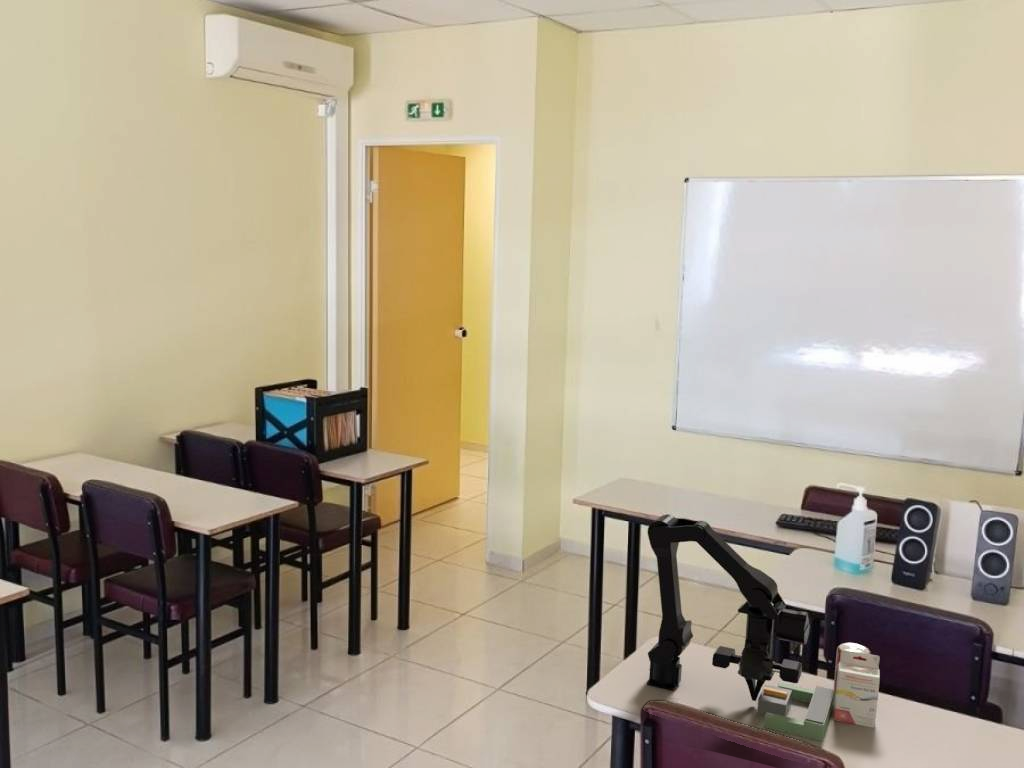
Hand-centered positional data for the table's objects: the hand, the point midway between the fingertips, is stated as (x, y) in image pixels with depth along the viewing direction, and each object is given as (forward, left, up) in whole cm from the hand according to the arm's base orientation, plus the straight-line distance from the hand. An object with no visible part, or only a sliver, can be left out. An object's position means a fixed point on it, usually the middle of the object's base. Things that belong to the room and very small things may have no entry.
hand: (754, 700), depth 216 cm
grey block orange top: (+4, +1, -2) cm, 5 cm away
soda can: (+19, +14, -1) cm, 24 cm away
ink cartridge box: (+21, +4, -1) cm, 21 cm away
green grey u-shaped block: (+11, 0, -1) cm, 11 cm away
